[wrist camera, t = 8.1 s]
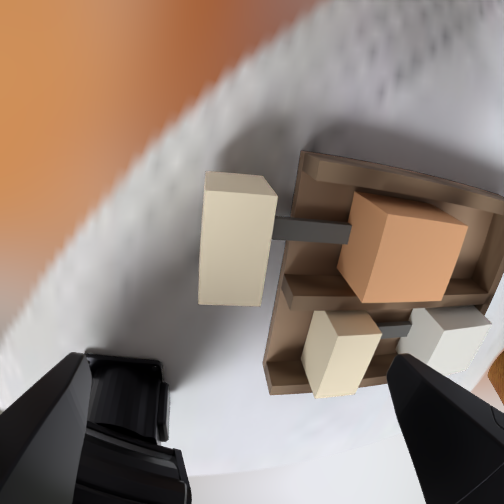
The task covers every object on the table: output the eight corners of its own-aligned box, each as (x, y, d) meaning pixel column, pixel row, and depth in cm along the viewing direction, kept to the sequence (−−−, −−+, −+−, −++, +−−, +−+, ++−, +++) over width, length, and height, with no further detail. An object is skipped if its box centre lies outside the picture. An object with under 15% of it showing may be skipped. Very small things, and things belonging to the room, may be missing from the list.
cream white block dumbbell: (300, 358, 23) (314, 398, 20) (317, 297, 21) (338, 336, 17) (443, 345, 26) (464, 372, 22) (466, 295, 23) (493, 321, 20)
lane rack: (262, 363, 24) (269, 395, 21) (300, 150, 18) (319, 160, 15) (438, 348, 28) (454, 370, 25) (498, 194, 21) (525, 208, 18)
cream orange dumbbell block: (198, 265, 19) (198, 304, 15) (205, 170, 17) (205, 190, 13) (409, 273, 21) (439, 304, 18) (431, 200, 19) (469, 222, 15)
